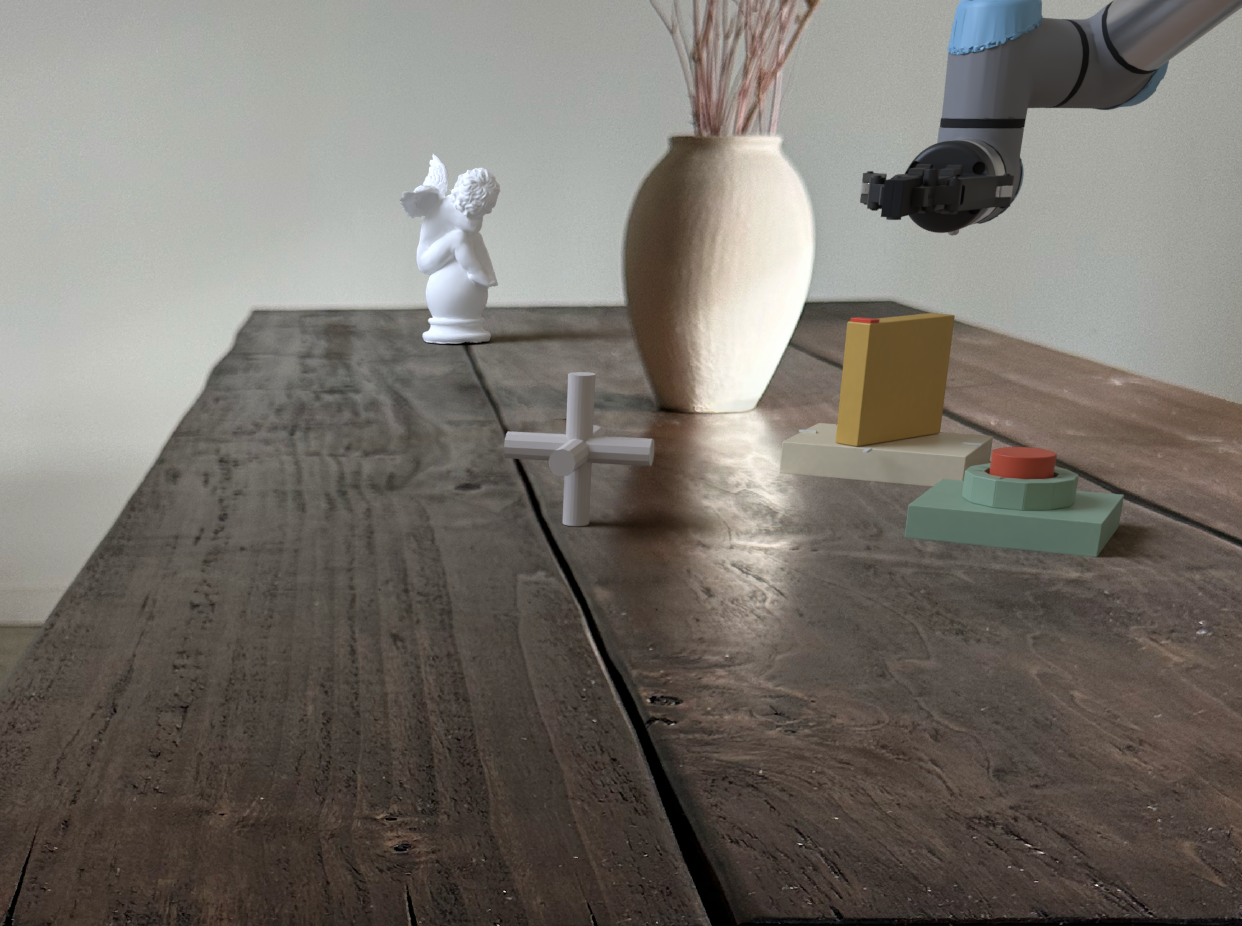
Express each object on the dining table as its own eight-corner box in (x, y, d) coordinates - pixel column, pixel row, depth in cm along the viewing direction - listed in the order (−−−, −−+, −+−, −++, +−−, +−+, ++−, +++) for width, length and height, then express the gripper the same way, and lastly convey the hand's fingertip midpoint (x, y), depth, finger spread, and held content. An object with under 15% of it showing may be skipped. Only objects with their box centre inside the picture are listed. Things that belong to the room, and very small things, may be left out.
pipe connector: (633, 544, 111) (641, 387, 107) (486, 533, 114) (489, 381, 110) (660, 513, 119) (669, 367, 115) (523, 504, 122) (527, 361, 118)
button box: (1118, 527, 114) (1128, 467, 113) (1096, 557, 106) (1107, 494, 105) (938, 509, 120) (945, 452, 118) (904, 537, 112) (911, 477, 110)
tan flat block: (917, 429, 136) (932, 309, 132) (940, 433, 134) (955, 311, 130) (834, 442, 130) (847, 317, 127) (857, 446, 129) (870, 320, 125)
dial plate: (995, 463, 136) (1000, 430, 135) (957, 495, 124) (962, 458, 123) (820, 449, 142) (824, 417, 141) (769, 478, 131) (772, 443, 130)
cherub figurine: (508, 343, 212) (513, 153, 203) (424, 349, 206) (425, 155, 197) (456, 334, 222) (458, 152, 213) (375, 340, 216) (373, 154, 207)
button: (1057, 476, 112) (1061, 449, 112) (1047, 486, 109) (1051, 459, 108) (995, 471, 114) (998, 444, 113) (983, 481, 111) (986, 454, 110)
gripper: (1023, 232, 149) (971, 252, 130) (874, 228, 155) (804, 247, 136) (1036, 140, 146) (985, 147, 127) (884, 139, 152) (814, 145, 133)
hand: (892, 198), depth 132 cm, fingers closed
